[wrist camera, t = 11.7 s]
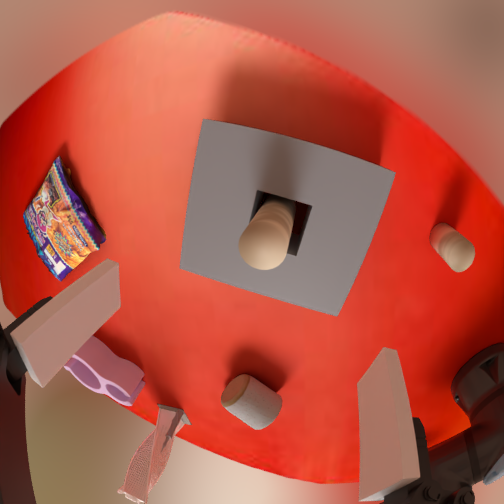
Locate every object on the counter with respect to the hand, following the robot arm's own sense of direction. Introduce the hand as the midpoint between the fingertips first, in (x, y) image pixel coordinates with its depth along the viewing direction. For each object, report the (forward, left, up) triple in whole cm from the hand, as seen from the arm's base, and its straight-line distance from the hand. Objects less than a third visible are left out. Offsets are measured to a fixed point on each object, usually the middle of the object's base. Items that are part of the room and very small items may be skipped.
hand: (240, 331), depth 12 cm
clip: (+28, +43, -21) cm, 56 cm away
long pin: (+1, 0, -21) cm, 21 cm away
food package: (+38, +13, -22) cm, 46 cm away
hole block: (0, 0, -21) cm, 21 cm away
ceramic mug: (-3, +32, -21) cm, 39 cm away
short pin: (-20, -3, -21) cm, 29 cm away
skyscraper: (+11, +55, -22) cm, 60 cm away
